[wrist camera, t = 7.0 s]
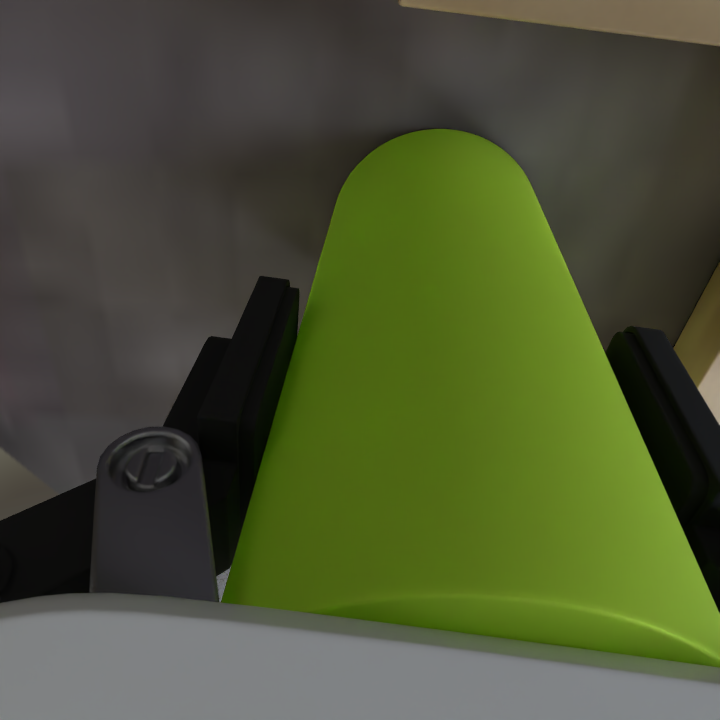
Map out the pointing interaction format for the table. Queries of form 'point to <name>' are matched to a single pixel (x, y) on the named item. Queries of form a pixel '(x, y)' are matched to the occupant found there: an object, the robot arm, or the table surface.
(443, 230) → the soap dispenser
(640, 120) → the table surface
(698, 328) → the holder
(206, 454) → the robot arm
